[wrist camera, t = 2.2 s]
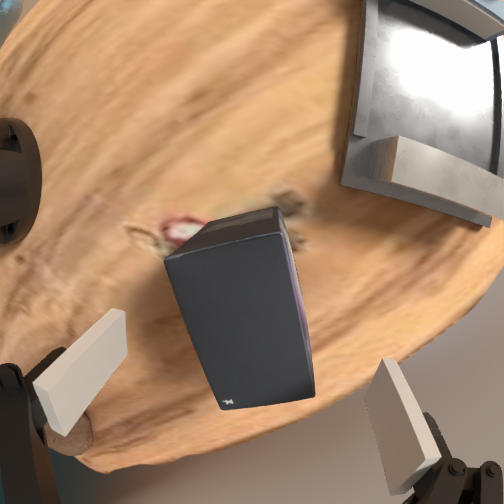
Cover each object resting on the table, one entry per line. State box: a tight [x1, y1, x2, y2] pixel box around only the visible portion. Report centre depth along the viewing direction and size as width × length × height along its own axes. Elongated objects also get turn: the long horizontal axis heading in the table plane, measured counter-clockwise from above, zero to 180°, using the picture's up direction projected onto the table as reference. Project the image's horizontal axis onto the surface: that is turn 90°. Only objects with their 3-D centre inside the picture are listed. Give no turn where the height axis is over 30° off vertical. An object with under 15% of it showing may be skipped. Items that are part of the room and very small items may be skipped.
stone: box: [44, 413, 94, 456], centre depth 31 cm, size 12×9×10 cm
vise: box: [339, 0, 504, 228], centre depth 16 cm, size 16×25×6 cm, turn 171°
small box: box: [164, 207, 315, 410], centre depth 20 cm, size 11×6×10 cm, turn 14°
